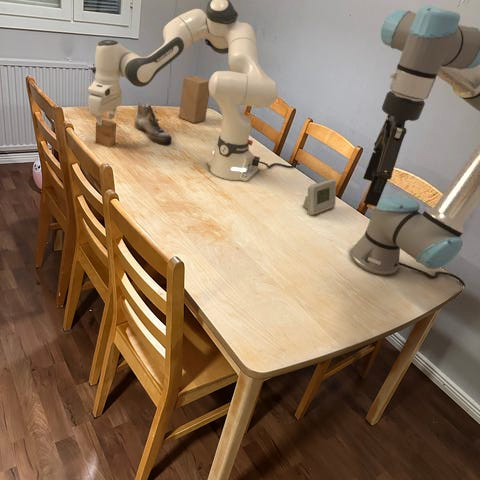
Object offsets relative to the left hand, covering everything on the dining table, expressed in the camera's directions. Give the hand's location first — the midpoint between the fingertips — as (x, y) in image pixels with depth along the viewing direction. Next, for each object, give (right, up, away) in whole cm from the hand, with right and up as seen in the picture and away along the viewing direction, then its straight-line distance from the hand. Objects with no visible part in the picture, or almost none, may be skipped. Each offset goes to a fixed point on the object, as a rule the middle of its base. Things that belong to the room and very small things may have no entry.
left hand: (105, 121), depth 175 cm
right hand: (+82, -36, -77) cm, 119 cm away
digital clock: (+83, -36, -8) cm, 91 cm away
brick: (-2, -7, +5) cm, 9 cm away
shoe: (+14, 0, +23) cm, 27 cm away
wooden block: (+29, +15, +51) cm, 60 cm away
